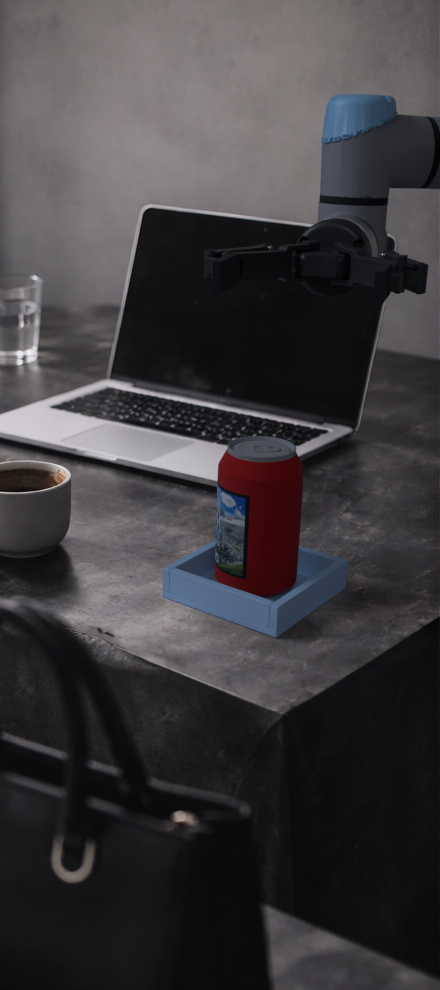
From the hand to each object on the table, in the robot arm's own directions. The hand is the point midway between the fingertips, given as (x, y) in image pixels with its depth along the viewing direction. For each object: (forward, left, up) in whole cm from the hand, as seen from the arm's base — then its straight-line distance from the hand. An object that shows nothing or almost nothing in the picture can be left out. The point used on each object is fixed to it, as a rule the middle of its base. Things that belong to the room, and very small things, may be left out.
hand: (295, 282), depth 81 cm
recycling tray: (-3, +9, -24) cm, 26 cm away
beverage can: (-3, +9, -23) cm, 25 cm away
